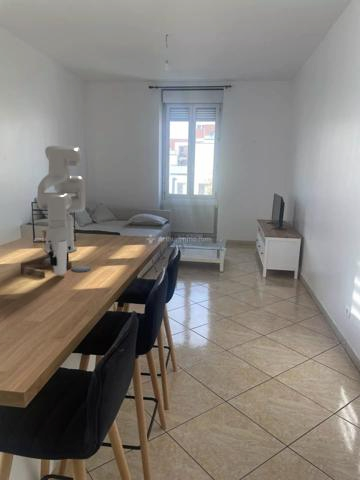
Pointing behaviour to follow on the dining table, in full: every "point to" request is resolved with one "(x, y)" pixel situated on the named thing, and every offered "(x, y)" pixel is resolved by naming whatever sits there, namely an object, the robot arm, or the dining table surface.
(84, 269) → the felt coaster
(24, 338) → the dining table surface
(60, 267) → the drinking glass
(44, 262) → the walnut cubby
